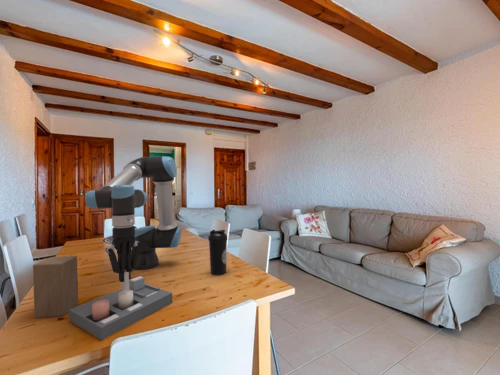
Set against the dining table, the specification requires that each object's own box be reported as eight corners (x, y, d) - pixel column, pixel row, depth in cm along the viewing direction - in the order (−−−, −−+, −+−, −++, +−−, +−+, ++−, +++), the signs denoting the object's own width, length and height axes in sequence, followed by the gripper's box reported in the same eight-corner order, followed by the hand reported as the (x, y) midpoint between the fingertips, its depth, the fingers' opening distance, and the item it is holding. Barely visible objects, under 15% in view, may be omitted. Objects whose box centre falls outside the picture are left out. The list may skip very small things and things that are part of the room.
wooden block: (53, 305, 101) (51, 256, 101) (79, 303, 102) (77, 255, 101) (34, 318, 91) (32, 264, 91) (62, 316, 92) (61, 263, 91)
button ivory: (115, 307, 92) (115, 293, 92) (128, 301, 96) (128, 288, 96) (123, 310, 89) (123, 296, 89) (136, 304, 94) (135, 291, 94)
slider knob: (129, 289, 104) (129, 279, 104) (140, 285, 109) (140, 275, 108) (133, 291, 103) (133, 281, 103) (144, 287, 107) (144, 277, 107)
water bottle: (224, 276, 129) (223, 232, 128) (206, 275, 131) (205, 232, 130) (230, 269, 139) (229, 228, 138) (212, 268, 141) (212, 228, 140)
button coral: (89, 318, 84) (89, 304, 84) (104, 312, 89) (104, 298, 89) (97, 322, 82) (96, 308, 82) (112, 315, 86) (112, 301, 86)
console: (69, 320, 89) (68, 306, 89) (139, 290, 113) (139, 280, 113) (101, 340, 78) (101, 324, 78) (172, 302, 102) (172, 290, 101)
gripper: (111, 230, 85) (113, 298, 85) (145, 224, 96) (146, 285, 96) (100, 228, 89) (101, 293, 89) (133, 223, 100) (135, 281, 100)
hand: (125, 289), depth 92 cm, fingers closed
